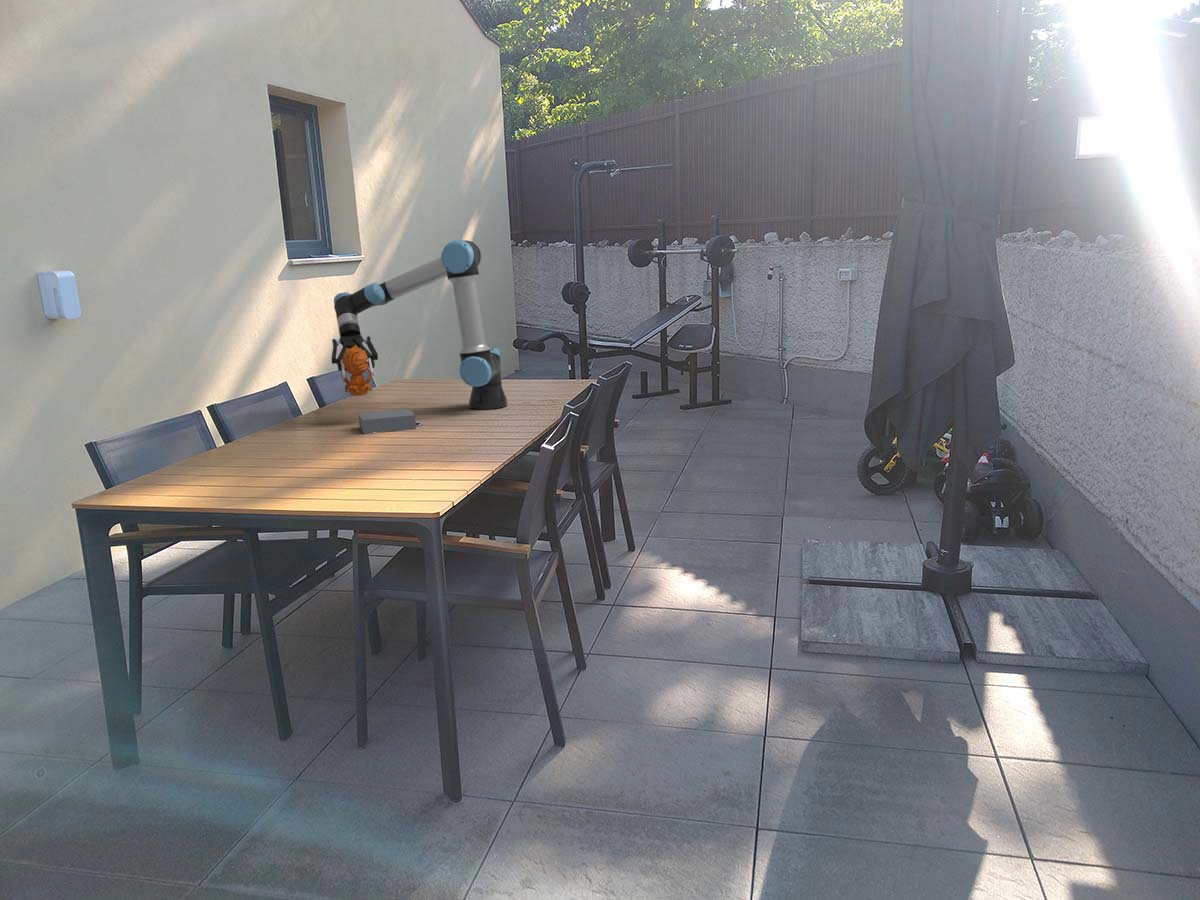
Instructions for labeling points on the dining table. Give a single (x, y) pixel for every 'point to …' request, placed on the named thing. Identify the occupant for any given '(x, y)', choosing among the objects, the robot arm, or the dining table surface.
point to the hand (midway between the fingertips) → (358, 375)
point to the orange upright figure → (356, 371)
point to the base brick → (386, 421)
